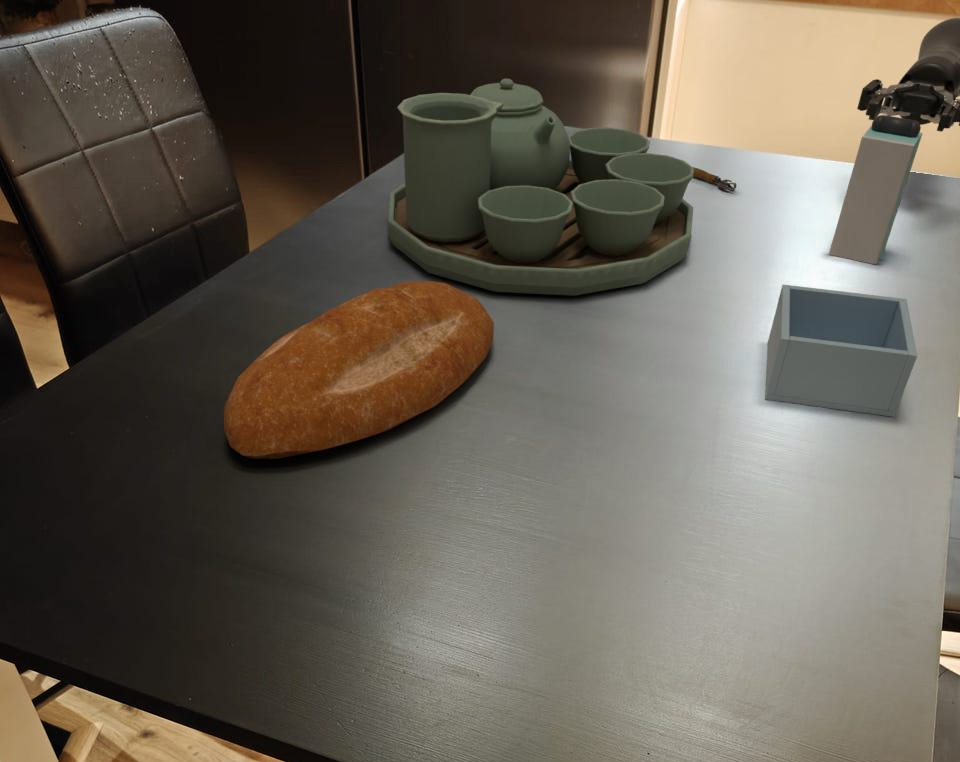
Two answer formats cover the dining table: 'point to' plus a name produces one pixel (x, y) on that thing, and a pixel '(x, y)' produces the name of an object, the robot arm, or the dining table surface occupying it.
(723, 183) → the can opener
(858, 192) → the knobbed tall block
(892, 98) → the robot arm
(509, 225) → the tea set
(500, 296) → the dining table surface
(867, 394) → the basket
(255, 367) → the bread
